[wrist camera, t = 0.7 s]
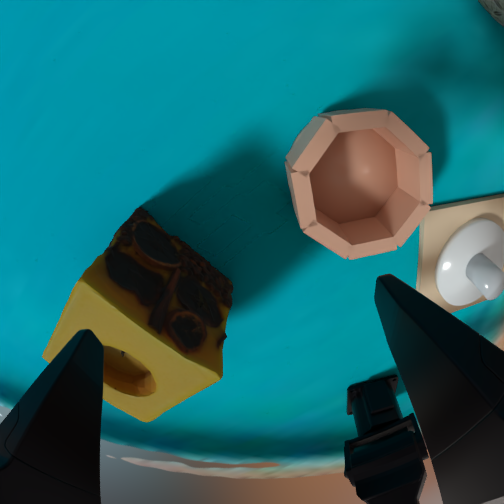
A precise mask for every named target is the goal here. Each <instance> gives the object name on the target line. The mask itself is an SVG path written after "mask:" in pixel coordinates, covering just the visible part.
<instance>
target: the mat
mask: <svg viewBox="0 0 504 504" xmlns="http://www.w3.org/2000/svg"><path fill="white" fill-rule="evenodd" d="M480 217H482V218H488V219H490V220H492V221H493V222H495V223H496V224H497V225H499V226H500V227H501V228H502V230H503V231H504V194H498V195H493V196H487V197H482V198H476V199H470V200H465V201H459V202H454V203H448V204H443V205H438V206H432V207H431V209H430V210H429V212H428V213H427V214H426V216H425V217H424V218H423V220H422V221H421V222H420V237H419V257H418V272H417V283H416V290H417V291H418V292H420V293H421V294H423V295H424V296H426V297H427V298H429V299H430V300H432V301H433V302H435V303H436V304H437V305H439V306H440V307H442V308H443V309H445V310H446V311H448V312H449V313H452V312H455V311H458V310H460V309H463V308H466V307H469V306H472V305H474V304H477V303H480V302H482V301H485V300H487V299H486V298H485V296H484V295H482V296H481V297H480V298H478V299H477V300H475V301H474V302H472V303H469V304H466V305H462V306H455V305H451V304H449V303H448V302H446V301H445V300H444V298H443V297H442V296H441V295H440V293H439V292H438V290H437V288H436V284H435V268H436V263H437V260H438V257H439V254H440V252H441V250H442V248H443V246H444V245H445V243H446V242H447V240H448V239H449V237H450V236H451V235H452V234H453V233H454V232H455V231H456V230H457V229H458V228H459V227H460V226H461V225H462V224H464V223H466V222H467V221H469V220H471V219H474V218H480ZM502 271H503V272H504V265H503V268H502Z"/></svg>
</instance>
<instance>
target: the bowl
mask: <svg viewBox="0 0 504 504" xmlns="http://www.w3.org/2000/svg"><path fill="white" fill-rule="evenodd" d="M428 149H429V147H428V146H427V145H426V144H425V143H424V142H423V141H422V140H421V139H420V138H419V137H418V136H417V135H416V134H415V133H414V132H413V131H412V130H411V129H410V128H409V127H408V126H407V125H406V124H405V123H404V122H403V121H402V120H401V119H399V118H398V117H397V116H396V115H395V114H394V113H393V112H392V111H387V110H384V109H373V108H360V109H351V110H337V111H332V112H327V113H320V114H318V117H316V116H314V117H313V118H312V120H311V121H310V122H309V123H308V124H307V125H306V126H305V127H304V128H303V129H302V130H301V132H300V133H299V134H298V135H297V137H296V139H295V140H294V142H293V144H292V147H291V149H290V151H289V153H288V154H287V156H286V157H285V158H286V159H287V161H285V167H286V172H287V180H288V185H289V189H290V192H291V197H292V202H293V208H294V211H295V214H296V216H297V219H298V222H299V225H300V228H301V229H302V230H303V233H305V234H307V235H308V236H310V237H311V238H313V239H314V240H316V241H318V242H319V243H321V244H322V245H324V246H326V247H327V248H329V249H330V250H332V251H333V252H335V253H336V254H338V255H340V256H341V257H343V258H344V259H346V258H347V257H348V258H349V260H352V259H356V258H361V257H366V256H370V255H375V254H379V253H384V252H389V251H393V250H397V245H398V246H400V247H401V246H402V245H403V244H404V243H405V241H406V240H407V239H408V238H409V236H410V235H411V234H412V232H413V231H414V230H415V229H416V227H417V226H418V225H419V223H420V222H421V221H422V220H423V218H424V217H425V216H426V214H427V213H428V212H429V210H430V209H431V207H430V206H429V205H428V204H433V181H432V157H431V152H429V151H428Z"/></svg>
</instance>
